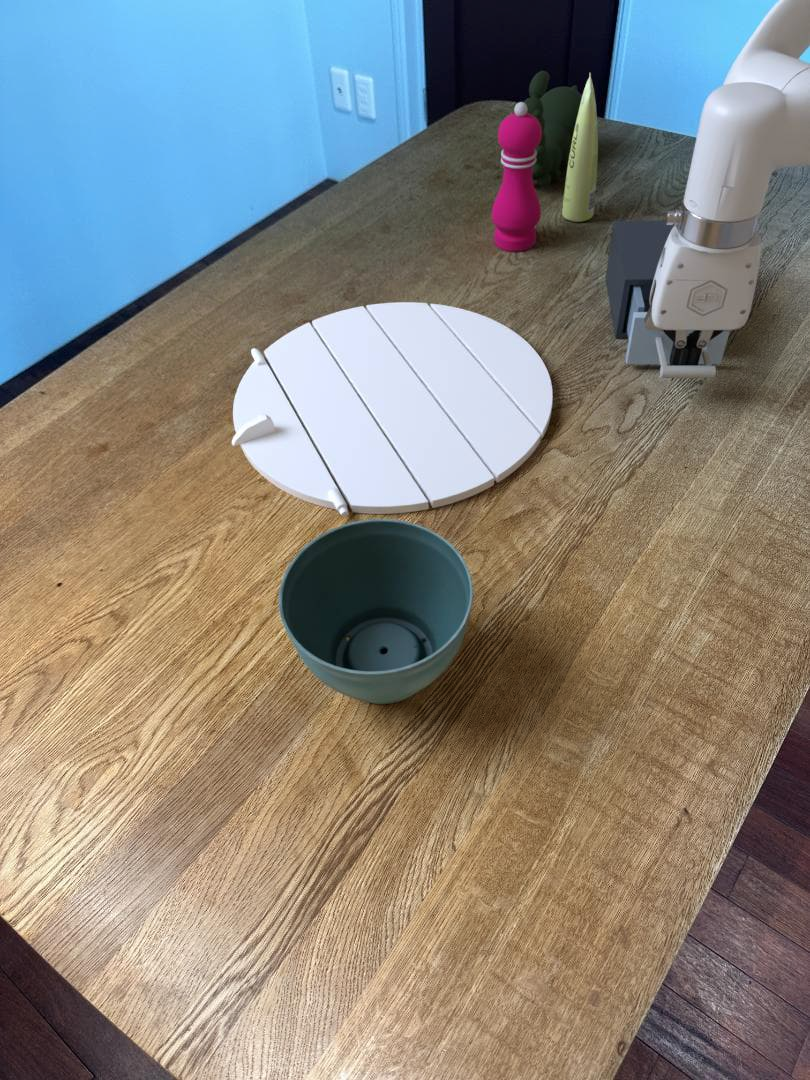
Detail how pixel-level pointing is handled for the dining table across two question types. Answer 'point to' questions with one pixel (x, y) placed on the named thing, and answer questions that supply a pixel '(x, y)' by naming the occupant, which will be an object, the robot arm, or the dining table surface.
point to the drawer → (664, 342)
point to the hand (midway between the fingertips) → (681, 369)
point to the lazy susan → (393, 407)
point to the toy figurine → (552, 126)
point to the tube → (582, 161)
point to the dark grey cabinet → (632, 263)
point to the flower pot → (377, 607)
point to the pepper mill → (517, 182)
